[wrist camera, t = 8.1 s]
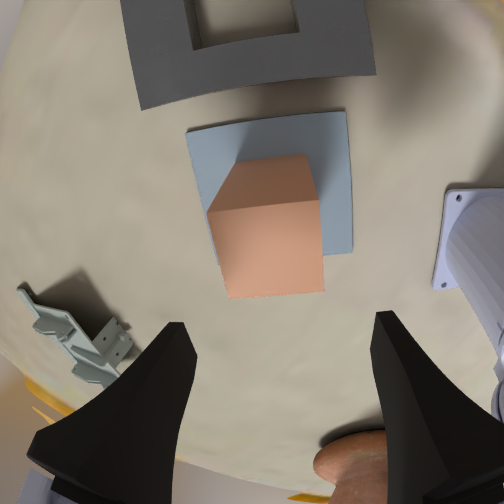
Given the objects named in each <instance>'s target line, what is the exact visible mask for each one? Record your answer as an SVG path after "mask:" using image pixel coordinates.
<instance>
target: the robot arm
mask: <svg viewBox="0 0 504 504" xmlns="http://www.w3.org/2000/svg"><path fill="white" fill-rule="evenodd" d="M459 194H460V196H459V198H458V199H457V200H456V197H457V196H458V195H459ZM444 282H445V283H444ZM443 283H444V284H443ZM432 287H433V289H434V290H435V291H438V290H444V289H451V288H457V287H460V288H461V290H462V292H463V293H464V295H465V297H466V298H467V300H468V301H469V303H470V305H471V307H472V308H473V310H474V312H475V313H476V315H477V317H478V319H479V321H480V322H481V324H482V326H483V328H484V330H485V332H486V333H487V335H488V337H489V339H490V341H491V343H492V345H493V347H494V349H495V351H496V353H497V355H498V361H497V363H496V365H495V366H494V368H493V369H494V371H495V373H496V376H497V378H498V380H499V383H498V385H497V386H496V388H495V391H494V393H493V397H492V401H491V415H490V414H489V413H487V412H486V411H485V410H483V409H482V408H481V407H480V406H478V405H477V404H476V403H475V402H473V401H472V400H471V399H470V398H468V397H467V396H466V395H465V394H464V393H463V392H462V391H461V390H460V389H458V388H457V387H456V386H455V385H454V384H453V383H452V382H451V381H450V380H449V379H448V378H447V377H446V376H445V375H444V374H443V373H442V371H441V370H440V369H439V368H438V367H437V366H436V365H435V364H434V363H433V361H432V360H431V359H430V358H429V357H428V356H427V354H426V353H425V352H424V351H423V349H422V348H421V347H420V346H419V345H418V343H417V342H416V341H415V340H414V338H413V337H412V336H411V334H410V333H409V332H408V330H407V329H406V328H405V326H404V325H403V324H402V322H401V321H400V320H399V318H398V317H397V316H396V314H395V313H394V312H393V311H392V310H390V311H382V312H376V317H375V323H374V329H373V335H372V341H371V346H370V352H371V360H372V368H373V374H374V378H375V383H376V387H377V391H378V395H379V400H380V404H381V409H382V413H383V418H384V423H385V430H386V441H387V458H388V494H387V504H504V487H503V483H504V188H480V189H451V190H448V191H447V192H446V194H445V200H444V210H443V219H442V227H441V234H440V241H439V247H438V253H437V259H436V265H435V270H434V275H433V280H432ZM196 363H197V354H196V351H195V349H194V347H193V344H192V342H191V340H190V337H189V335H188V333H187V330H186V328H185V325H184V323H183V322H169V323H168V324H167V325H166V326H165V327H164V328H163V330H162V331H161V332H160V333H159V334H158V335H157V336H156V338H155V339H154V340H153V341H152V342H151V343H150V344H149V346H148V347H147V348H146V349H145V350H144V351H143V352H142V353H141V354H140V356H139V357H138V358H137V359H136V360H135V361H134V362H133V363H132V364H131V365H130V366H129V367H128V368H127V369H126V370H125V371H124V372H123V373H122V374H121V375H120V376H119V377H118V378H117V379H116V380H115V381H114V382H113V383H112V384H111V385H110V386H108V387H107V388H106V389H105V390H104V391H103V392H101V393H100V394H99V395H98V396H96V397H95V398H94V399H92V400H91V401H89V402H88V403H87V404H85V405H84V406H83V407H81V408H80V409H78V410H77V411H75V412H73V413H72V414H70V415H69V416H67V417H65V418H63V419H62V420H60V421H58V422H56V423H54V424H52V425H50V426H47V427H45V428H43V429H41V430H39V431H37V432H36V434H35V436H34V438H33V441H32V443H31V445H30V447H29V450H28V452H27V457H28V458H29V459H31V460H32V461H33V462H35V463H36V464H38V465H39V466H41V467H42V468H44V469H45V470H47V471H48V472H50V473H51V474H53V475H55V478H54V480H52V479H50V478H48V477H47V476H44V475H43V474H41V473H39V472H38V471H36V470H34V469H33V468H30V469H29V472H28V474H27V477H26V479H25V482H24V484H23V487H22V490H21V493H20V495H19V498H18V500H17V503H16V504H171V501H172V479H173V467H174V459H175V452H176V445H177V439H178V433H179V429H180V425H181V421H182V418H183V414H184V411H185V408H186V404H187V401H188V398H189V394H190V391H191V387H192V384H193V380H194V376H195V370H196Z"/></svg>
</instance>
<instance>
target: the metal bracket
mask: <svg viewBox="0 0 504 504" xmlns="http://www.w3.org/2000/svg"><path fill="white" fill-rule="evenodd" d="M16 291H17V293H18V294H19V296H20V297H21V299H22V300H23V301H24V303H25V304H26V306H27V307H28V308H29V310H30V311H31V312H32V314H33V315H34V316H35V318H36V319H37V321H36V322H35V323H34V324H33V328H34V329H35V331H36V332H38V333H40V334H42V335H44V336H46V337H51V338H52V339H53V340H54V342H55V343H56V344H57V345H58V346H59V347H60V349H61V350H62V351H63V352H64V353H65V354H66V355H67V357H68V358H69V359H70V360H71V361H72V362H73V363H74V364H75V366H74V368H73V369H72V373H73V374H74V375H75V376H76V377H78V378H80V379H81V380H83V381H85V382H87V383H89V384H96V385H102V386H103V388H104V389H106V388H107V387H108V386H110V385H111V384H112V383H113V382H114V381H115V380H116V379H117V378H118V377H119V376H120V375H121V374H120V373H119V372H118V371H117V370H116V369H115V368H116V367H117V365H118V364H119V363H120V361H121V360H122V359H123V357H124V356H125V355H126V353H127V352H128V351H129V349H130V348H131V347H132V345H133V344H134V342H133V341H132V340H131V339H130V336H129V334H127V333H126V332H125V331H124V329H123V328H122V327H121V325H120V324H118V325H117V324H116V322H117V320H116V319H115V317H112V318H111V320H110V321H109V322H108V323H107V324H106V326H105V327H104V328H103V329H102V330H101V331H100V333H99V334H98V335H97V336H96V337H95V339H94V340H93V341H91V340H90V338H89V337H88V336H87V335H86V334H85V332H84V331H83V330H82V328H81V327H80V326H79V325H78V323H77V322H76V321H75V319H74V318H73V317H72V315H71V314H70V313H69V312H67V311H64V310H59V309H55V308H50V307H46V306H42V305H38V304H35V303H34V302H33V301H32V300H31V298H30V297H29V295H28V294H27V292H26V291H25V290H24V289H20V288H18V289H17V290H16ZM104 337H105V340H103V338H104ZM129 339H130V340H129ZM116 353H118V355H117V356H116ZM75 370H76V371H75Z"/></svg>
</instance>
